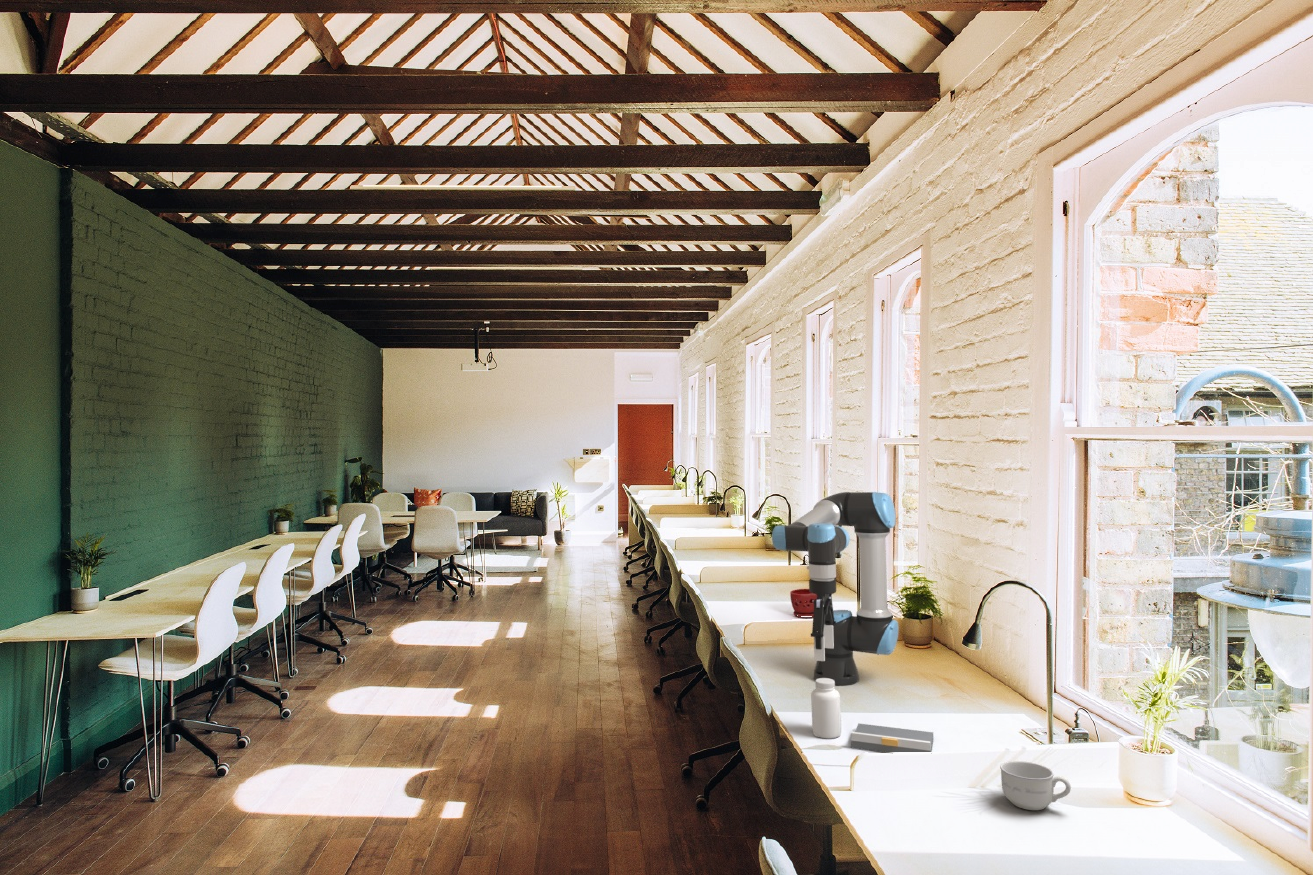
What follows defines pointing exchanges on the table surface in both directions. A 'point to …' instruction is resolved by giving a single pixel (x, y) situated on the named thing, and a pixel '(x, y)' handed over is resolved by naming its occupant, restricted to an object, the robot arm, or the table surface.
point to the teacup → (1030, 784)
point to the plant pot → (803, 602)
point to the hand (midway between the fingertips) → (824, 654)
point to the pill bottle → (826, 709)
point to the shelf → (891, 739)
